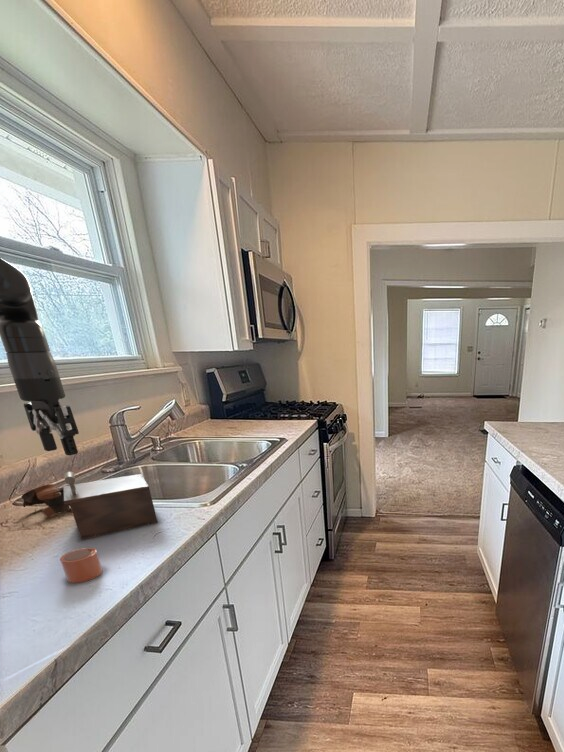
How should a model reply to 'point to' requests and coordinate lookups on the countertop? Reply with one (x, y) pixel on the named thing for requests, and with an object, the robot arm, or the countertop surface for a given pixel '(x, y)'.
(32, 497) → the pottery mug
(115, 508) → the chest
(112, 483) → the lid
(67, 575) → the small terracotta bowl
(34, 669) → the countertop surface
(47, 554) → the countertop surface
